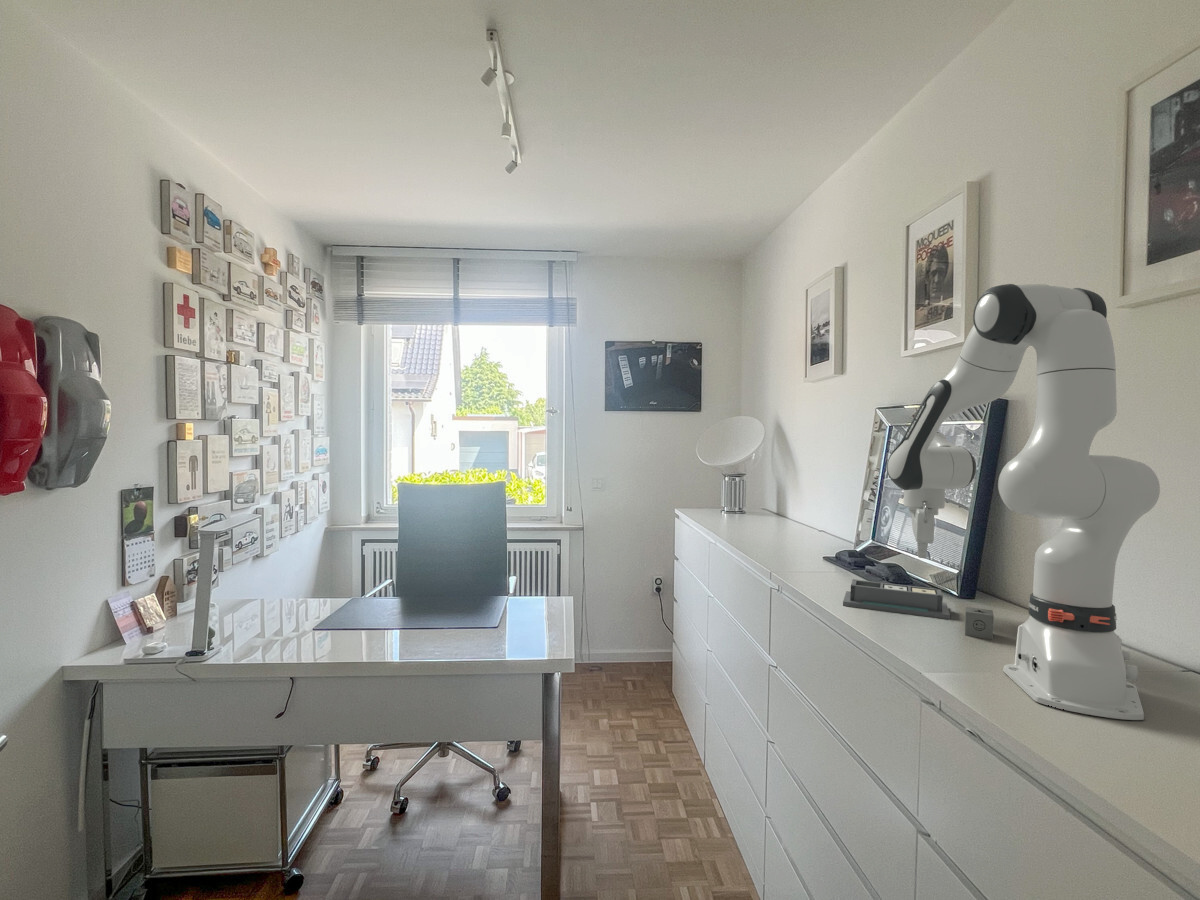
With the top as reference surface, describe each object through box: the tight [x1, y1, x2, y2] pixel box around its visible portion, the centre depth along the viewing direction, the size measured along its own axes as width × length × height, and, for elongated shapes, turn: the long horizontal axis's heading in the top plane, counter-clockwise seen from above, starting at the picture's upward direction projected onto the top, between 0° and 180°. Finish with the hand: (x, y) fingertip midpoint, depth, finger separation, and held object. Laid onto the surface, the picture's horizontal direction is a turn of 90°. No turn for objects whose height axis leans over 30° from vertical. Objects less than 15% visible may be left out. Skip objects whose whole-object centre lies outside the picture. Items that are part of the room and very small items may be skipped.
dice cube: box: [964, 606, 995, 640], centre depth 139 cm, size 5×5×5 cm
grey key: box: [884, 585, 907, 591], centre depth 160 cm, size 5×5×2 cm
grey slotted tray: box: [842, 578, 951, 620], centre depth 160 cm, size 12×23×5 cm, turn 66°
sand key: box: [912, 588, 936, 594], centre depth 157 cm, size 5×5×2 cm
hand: (921, 557), depth 157 cm, fingers closed
